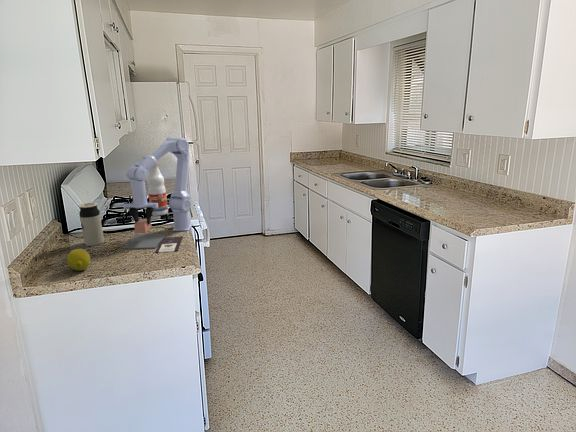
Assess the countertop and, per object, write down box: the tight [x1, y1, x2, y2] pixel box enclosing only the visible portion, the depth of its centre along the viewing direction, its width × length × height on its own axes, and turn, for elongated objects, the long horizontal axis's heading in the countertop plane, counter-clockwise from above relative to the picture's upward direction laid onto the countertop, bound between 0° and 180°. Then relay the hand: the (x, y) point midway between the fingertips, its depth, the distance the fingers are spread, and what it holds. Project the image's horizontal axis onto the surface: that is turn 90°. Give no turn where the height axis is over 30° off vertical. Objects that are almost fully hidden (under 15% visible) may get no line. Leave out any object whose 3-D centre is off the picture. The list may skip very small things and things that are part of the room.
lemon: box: [66, 248, 91, 272], centre depth 149 cm, size 11×8×8 cm
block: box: [133, 218, 153, 234], centre depth 175 cm, size 8×4×4 cm, turn 0°
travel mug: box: [78, 202, 105, 247], centre depth 175 cm, size 8×8×18 cm
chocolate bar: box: [154, 235, 183, 254], centre depth 173 cm, size 9×1×18 cm
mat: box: [121, 233, 168, 250], centre depth 178 cm, size 18×14×1 cm
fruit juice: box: [146, 163, 169, 216], centre depth 219 cm, size 9×9×28 cm
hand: (143, 223), depth 176 cm, fingers closed on block, 4 cm apart
